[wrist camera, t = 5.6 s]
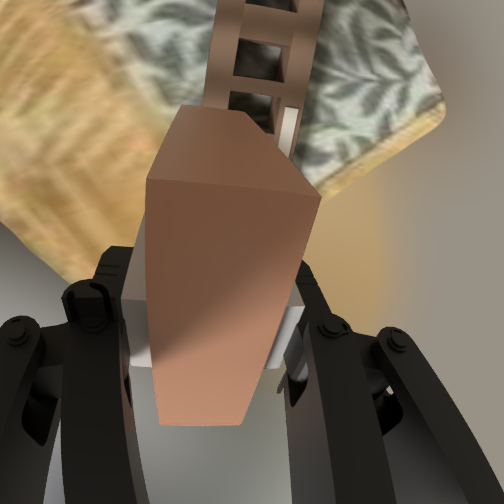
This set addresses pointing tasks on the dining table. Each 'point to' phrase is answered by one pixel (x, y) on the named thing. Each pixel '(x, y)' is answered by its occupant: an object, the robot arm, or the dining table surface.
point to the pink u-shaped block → (219, 261)
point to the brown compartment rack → (289, 67)
